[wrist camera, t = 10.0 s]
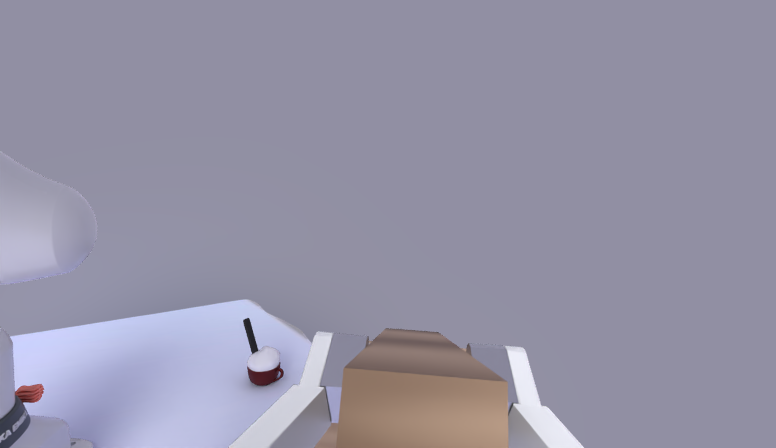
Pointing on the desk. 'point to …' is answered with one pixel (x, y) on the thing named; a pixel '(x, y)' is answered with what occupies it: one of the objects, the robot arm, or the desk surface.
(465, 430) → the turner
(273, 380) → the cocoa
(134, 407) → the desk surface
